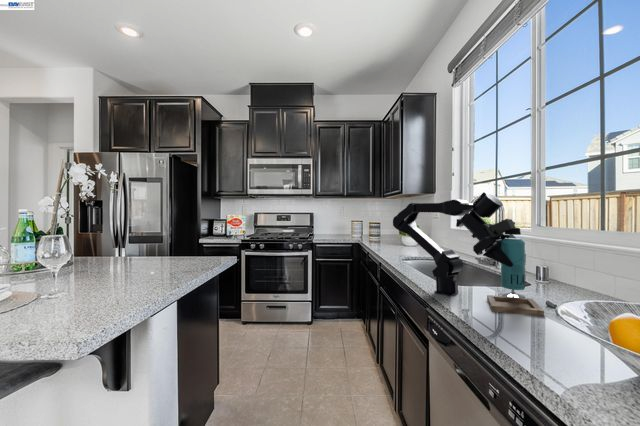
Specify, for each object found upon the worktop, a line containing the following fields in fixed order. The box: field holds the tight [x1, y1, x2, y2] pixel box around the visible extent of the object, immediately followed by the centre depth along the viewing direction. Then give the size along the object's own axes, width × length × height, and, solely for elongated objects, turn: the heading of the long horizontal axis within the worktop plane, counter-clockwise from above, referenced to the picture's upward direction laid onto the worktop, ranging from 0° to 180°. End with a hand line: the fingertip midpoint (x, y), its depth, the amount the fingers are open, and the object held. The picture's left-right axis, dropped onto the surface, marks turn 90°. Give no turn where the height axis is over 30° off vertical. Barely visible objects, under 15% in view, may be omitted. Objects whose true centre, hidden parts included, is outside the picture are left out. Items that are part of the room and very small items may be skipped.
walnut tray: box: [486, 294, 545, 318], centre depth 88 cm, size 13×13×2 cm
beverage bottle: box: [500, 226, 527, 291], centre depth 88 cm, size 6×7×20 cm
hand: (516, 265), depth 87 cm, fingers closed on beverage bottle, 6 cm apart
